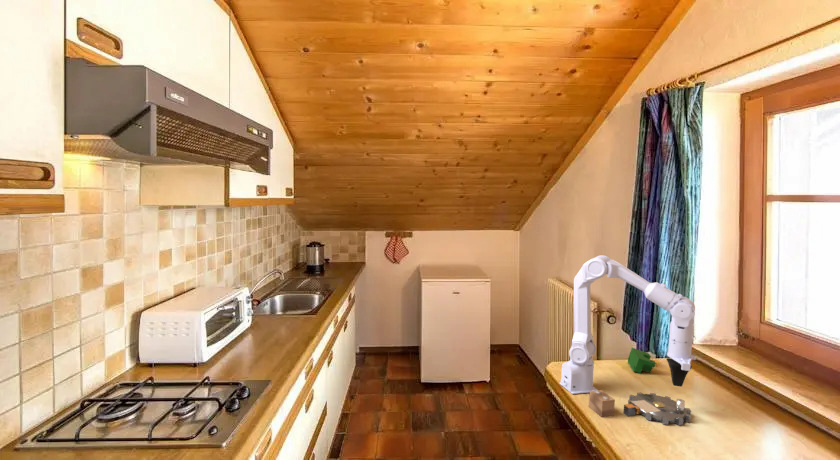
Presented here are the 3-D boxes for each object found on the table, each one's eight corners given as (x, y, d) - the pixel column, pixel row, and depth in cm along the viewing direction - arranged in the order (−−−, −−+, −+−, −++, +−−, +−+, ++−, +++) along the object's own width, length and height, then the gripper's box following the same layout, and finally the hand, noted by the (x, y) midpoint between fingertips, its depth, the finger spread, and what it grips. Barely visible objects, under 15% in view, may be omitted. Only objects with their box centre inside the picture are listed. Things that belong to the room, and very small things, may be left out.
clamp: (646, 385, 153) (657, 367, 149) (629, 379, 155) (639, 361, 150) (643, 361, 163) (653, 344, 159) (627, 356, 165) (636, 339, 160)
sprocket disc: (619, 408, 126) (620, 392, 126) (640, 392, 137) (641, 377, 137) (680, 431, 114) (681, 413, 114) (698, 411, 125) (699, 395, 125)
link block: (613, 416, 122) (614, 399, 122) (601, 417, 122) (602, 400, 121) (600, 406, 128) (601, 389, 128) (588, 407, 127) (589, 390, 127)
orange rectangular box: (627, 416, 122) (628, 407, 122) (623, 413, 124) (624, 404, 124) (635, 415, 123) (635, 406, 123) (630, 412, 125) (631, 403, 124)
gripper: (704, 350, 115) (700, 398, 116) (689, 333, 129) (685, 377, 130) (675, 346, 117) (671, 394, 118) (662, 331, 131) (659, 373, 132)
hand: (677, 385), depth 124 cm, fingers closed
